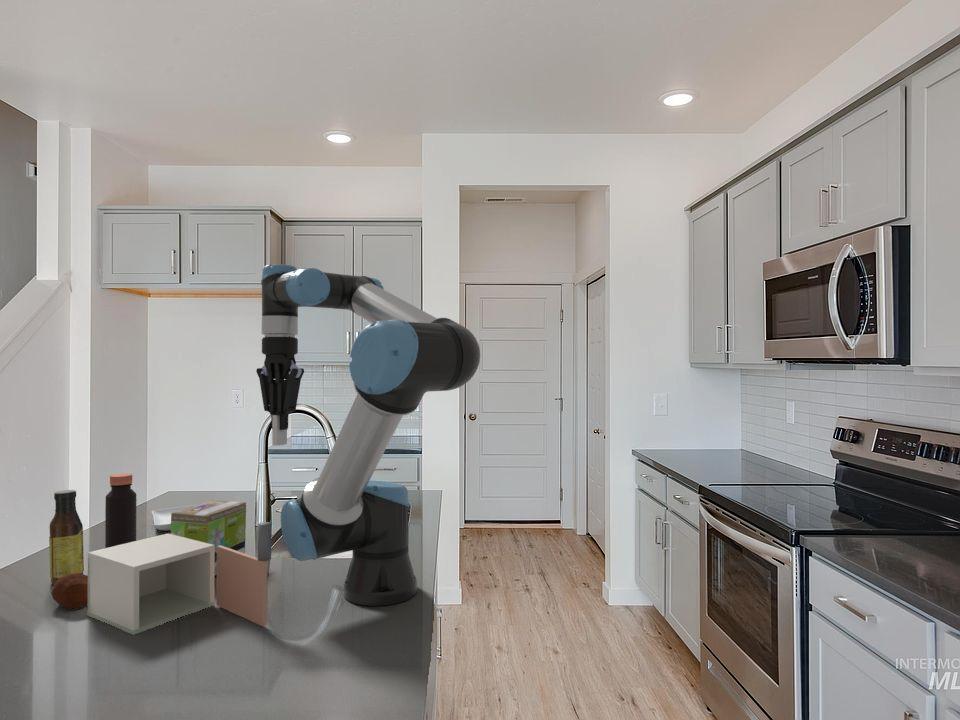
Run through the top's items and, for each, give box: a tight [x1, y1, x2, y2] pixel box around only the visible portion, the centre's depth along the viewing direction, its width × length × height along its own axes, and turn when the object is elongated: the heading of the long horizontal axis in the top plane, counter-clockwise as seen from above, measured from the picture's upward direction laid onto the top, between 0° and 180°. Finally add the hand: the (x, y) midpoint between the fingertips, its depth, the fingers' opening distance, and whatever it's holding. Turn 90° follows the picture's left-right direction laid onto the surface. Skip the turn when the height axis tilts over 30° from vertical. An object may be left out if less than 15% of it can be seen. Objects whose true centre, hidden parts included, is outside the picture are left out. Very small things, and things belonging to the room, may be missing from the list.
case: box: [87, 533, 215, 636], centre depth 122 cm, size 16×16×12 cm
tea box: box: [170, 499, 247, 577], centre depth 146 cm, size 15×10×15 cm, turn 168°
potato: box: [51, 573, 88, 610], centre depth 124 cm, size 7×9×6 cm
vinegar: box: [104, 473, 137, 549], centre depth 158 cm, size 7×7×20 cm
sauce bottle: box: [48, 489, 85, 586], centre depth 138 cm, size 7×6×20 cm
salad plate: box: [151, 504, 196, 532], centre depth 190 cm, size 21×21×3 cm
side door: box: [216, 521, 272, 627], centre depth 119 cm, size 16×2×18 cm, turn 51°
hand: (279, 444), depth 136 cm, fingers closed
